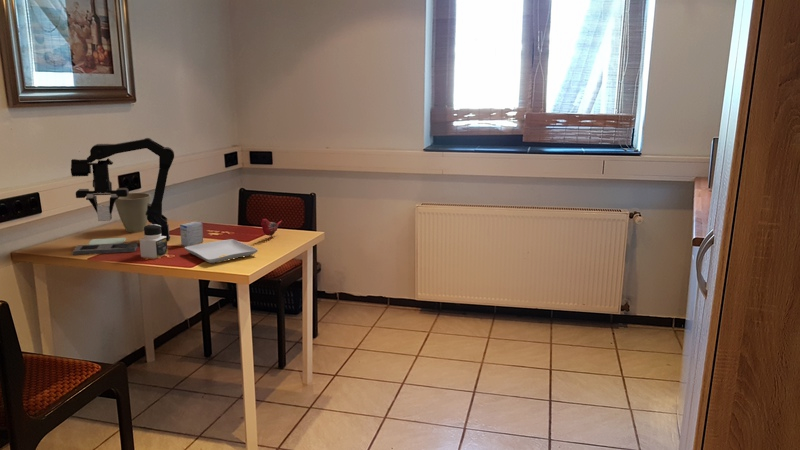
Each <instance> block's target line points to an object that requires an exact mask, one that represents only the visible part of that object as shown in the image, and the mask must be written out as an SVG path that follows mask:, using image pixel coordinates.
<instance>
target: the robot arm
mask: <svg viewBox="0 0 800 450" xmlns="http://www.w3.org/2000/svg"><path fill="white" fill-rule="evenodd" d="M144 149H147V150H149V151H150V152H152V153H153V154H155V155H156V156H158V157H159V158H158V162H159V163H158V164H159V165H158V167H159V169H158V173H157V179H156V183H155V184H156V185H155V189H154V194H153V197H152V201H151V202H150V204H149V203H148V205H147V211H146V215H147V222H149V224H156V225H160V226H161V236H166V237H167V242H168V241H170V239H171V236H170V227H169V224H168V218H167V216H165V215H164V214H163V199H164V194H165V190H166V186H167V185H166V184H167V178H168V175H169V170H170V168H171V166H172V163H173V162H174V158H175V151H174V150H173V149H172V148H171V147H168V146H163V145H161V144H160V143H158V142H156V141H154V140H153V139H152V138H150V137H146V138H141V139H137V140H131V141H125V142H124V141H123V142H120V143H119V142H118V143H97V144H94V145H93V146H92V147H91V148H90V151H89V153H90V154H89V156H88V157H86V159H77V158H73V159H70V160H71V162H70V174H71V177H89V174H92V178H93V179H92V188H93V189H94V190H90V189H89V188H79V189H78V190H76V192H75V198H76V199H82V198H83V199H85V200H87V201H89V203H90V204H91V205H92V207H93V208H94V211H95V212H96V214H97V215H98V213H97V206H98V205H99V204H98V198H97V196H110V197H109V204H110V214H111V213H112V212H113V209H114V205H115V200H116V199H118V198H119V197H127V196H128V195H129V193H130V191H129V188H127V187H117V188H116V190H115V189H113V183H112V182H111V181H110V175H109V174H110V172H109V165H110V166H112V165H113V164H114V162H113V161H112V160H111V159H110V157H111V156H114V155H117V154H121V153H127V152H133V151H134V152H135V151H139V150H144ZM106 158H107V159H106ZM104 159H105V160H104ZM96 160H97V162H94V161H96Z"/></svg>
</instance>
